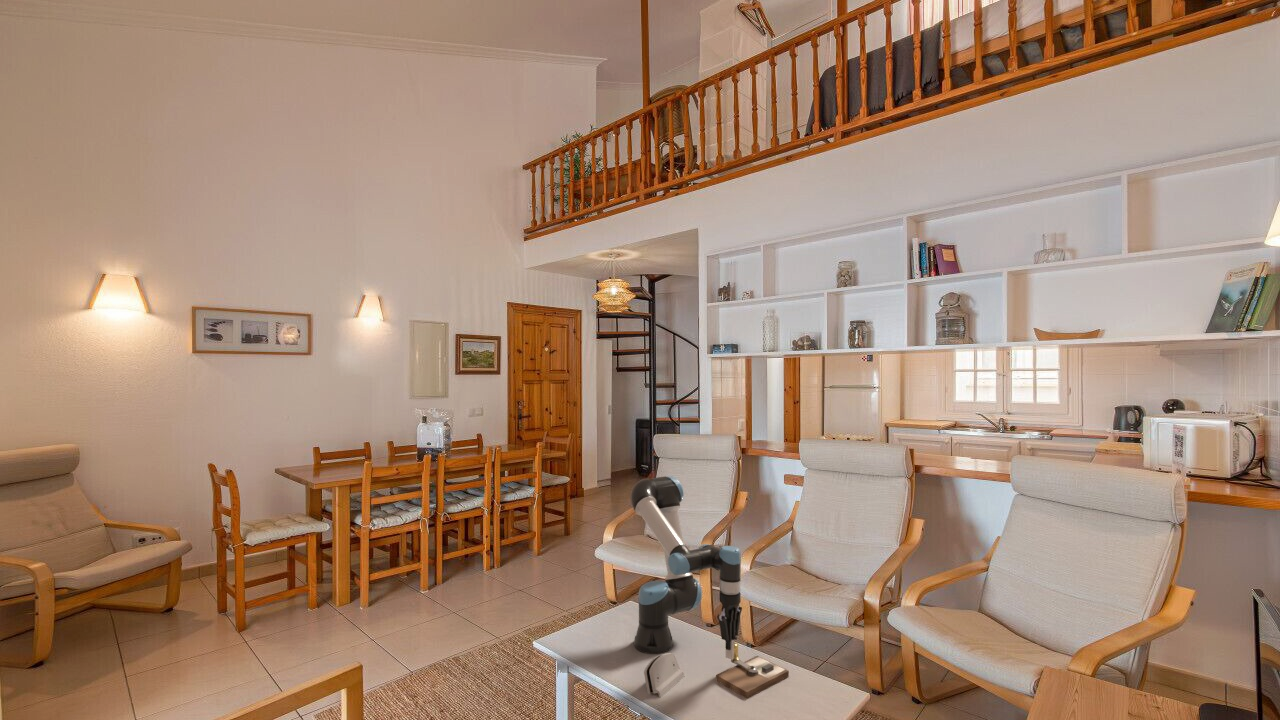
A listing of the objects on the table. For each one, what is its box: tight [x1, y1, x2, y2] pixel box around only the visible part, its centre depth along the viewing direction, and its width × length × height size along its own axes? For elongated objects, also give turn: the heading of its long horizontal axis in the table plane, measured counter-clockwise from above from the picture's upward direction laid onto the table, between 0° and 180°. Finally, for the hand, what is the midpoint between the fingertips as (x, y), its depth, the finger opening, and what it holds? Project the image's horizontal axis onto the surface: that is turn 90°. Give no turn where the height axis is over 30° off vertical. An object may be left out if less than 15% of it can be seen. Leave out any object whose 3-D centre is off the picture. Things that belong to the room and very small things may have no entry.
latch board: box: [715, 655, 789, 699], centre depth 202 cm, size 14×22×4 cm, turn 129°
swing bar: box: [730, 642, 757, 674], centre depth 206 cm, size 12×3×6 cm, turn 34°
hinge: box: [643, 652, 685, 698], centre depth 199 cm, size 17×5×10 cm, turn 146°
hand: (729, 657), depth 207 cm, fingers closed
